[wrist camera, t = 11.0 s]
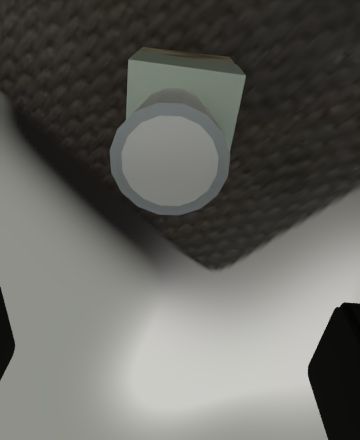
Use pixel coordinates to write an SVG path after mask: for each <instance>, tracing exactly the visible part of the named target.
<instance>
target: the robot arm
mask: <svg viewBox="0 0 360 440" xmlns="http://www.w3.org/2000/svg"><path fill="white" fill-rule="evenodd" d="M14 349H15V342H14V338H13V334H12V330H11V326H10V322H9V319H8V314H7V311H6V307H5V303H4V299H3V295H2V291H1V287H0V380H1V378H2V376H3V374H4V372H5V370H6V368H7V366H8V364H9V362H10V360H11V358H12V356H13V353H14ZM308 377H309V381H310V384H311V387H312V390H313V393H314V396H315V399H316V402H317V406H318V409H319V412H320V415H321V418H322V421H323V424H324V428H325V430H326V434H327V437H328V440H360V304H357V303H343V304H342V305H341V306H340V307H337V308H335V310H334V312H333V314H332V316H331V318H330V320H329V322H328V325H327V327H326V329H325V331H324V333H323V335H322V338H321V340H320V342H319V344H318V346H317V349H316V351H315V353H314V355H313V357H312V359H311V361H310V364H309V366H308Z"/></svg>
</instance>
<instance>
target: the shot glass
mask: <svg viewBox="0 0 360 440" xmlns="http://www.w3.org/2000/svg"><path fill="white" fill-rule="evenodd" d="M110 161H111V173H112V175H113V177H114V179H115V181H116V183H117V184H118V186H119V188H120V190H121V192H122V193H123V194H124V195H125V196H126V197H128V198H129V199H130V200H131V201H132V202H133V203H134V204H136V205H137V206H138V207H140V208H143V209H146V210H148V211H151V212H153V213H156V214H160V215H182V214H185V213H188V212H192V211H195V210H198V209H201V208H202V207H203V206H204V205H206V204H207V203H208V202H210V201H211V200H212V199H213V198H215V197H216V196H217V195H218V193H219V191H220V190H221V188H222V186H223V185H224V183H225V181H226V179H227V178H228V171H229V162H230V152H229V149H228V146H227V143H226V140H225V137H224V133H223V132H222V130H221V128H220V127H219V125H218V124H217V122H216V121H215V119H214V117H213V116H212V114H211V113H210V111H209V109H208V108H207V107H206V105H205V104H204V103H203V102H202V101H201V100H200V99H199V97H198V96H197V95H195V94H193V93H191V92H189V91H186V90H184V89H181V88H165V89H163V90H160V91H158V92H155V93H153V94H151V95H150V96H149V97H148V99H147V100H146V101H145V102H144V103H143V104H142V105H141V106H140V107H139V108H138V109H137V110H136V111H135V112H134V113H133V114H132V115H131V116H130V117H129V118H128V119H127V120H126V121H125V122H124V123H123V124H122V125H121V126H120V127H119V128H118V129H117V132H116V134H115V137H114V140H113V143H112V146H111V148H110Z"/></svg>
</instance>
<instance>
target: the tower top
mask: <svg viewBox="0 0 360 440" xmlns="http://www.w3.org/2000/svg"><path fill="white" fill-rule="evenodd" d="M245 78H246V75H245V74H244V72H243V71H242V70H241V69H240V68H239V66H238V65H235V64H228V63H221V62H214V61H207V60H199V59H192V58H185V57H178V56H171V55H163V54H156V53H149V52H142V51H137V52H136V53H135V54H134V55H133V56H132V57H131V58H129V59H128V82H127V107H126V120H127V119H128V118H129V117H130V116H131V115H132V114H133V113H134V112H135V111H136V110H137V109H138V108H139V107H140V106H141V105H142V104H143V103H144V102H145V101H146V100H147V99H148V97H149V96H150V95H151V94H153V93H155V92H158V91H160V90H163V89H165V88H181V89H184V90H186V91H189V92H191V93H193V94H195V95H197V96H198V97H199V99H200V100H201V101H202V102H203V103H204V104H205V105H206V107H207V108H208V109H209V111H210V113H211V114H212V116H213V117H214V119H215V121H216V122H217V124H218V125H219V127H220V128H221V130H222V132H223V133H224V137H225V140H226V143H227V146H228V149H229V152H230V149H231V144H232V139H233V135H234V130H235V125H236V120H237V116H238V111H239V106H240V102H241V97H242V92H243V87H244V83H245Z"/></svg>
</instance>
